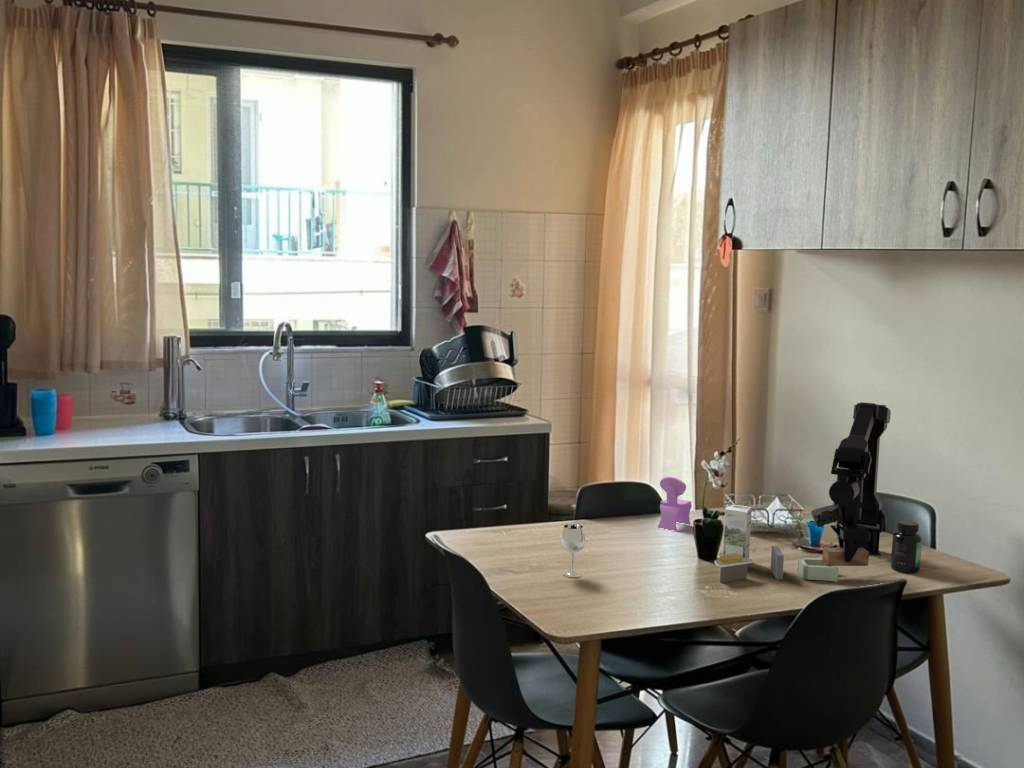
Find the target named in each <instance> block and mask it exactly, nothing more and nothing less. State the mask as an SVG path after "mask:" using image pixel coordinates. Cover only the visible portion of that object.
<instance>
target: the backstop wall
mask: <svg viewBox="0 0 1024 768" xmlns="http://www.w3.org/2000/svg"><path fill="white" fill-rule="evenodd" d="M770 554H771V557H770V571H771V573H772V574H773V576H774V578H775V580H780V581H782V580H783V576H784V562H785V561H784V560H785V559H784V558H785V555H784V554H783V552H782V550H781V549H780V547H779V545H772V546H771V553H770Z"/></svg>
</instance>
